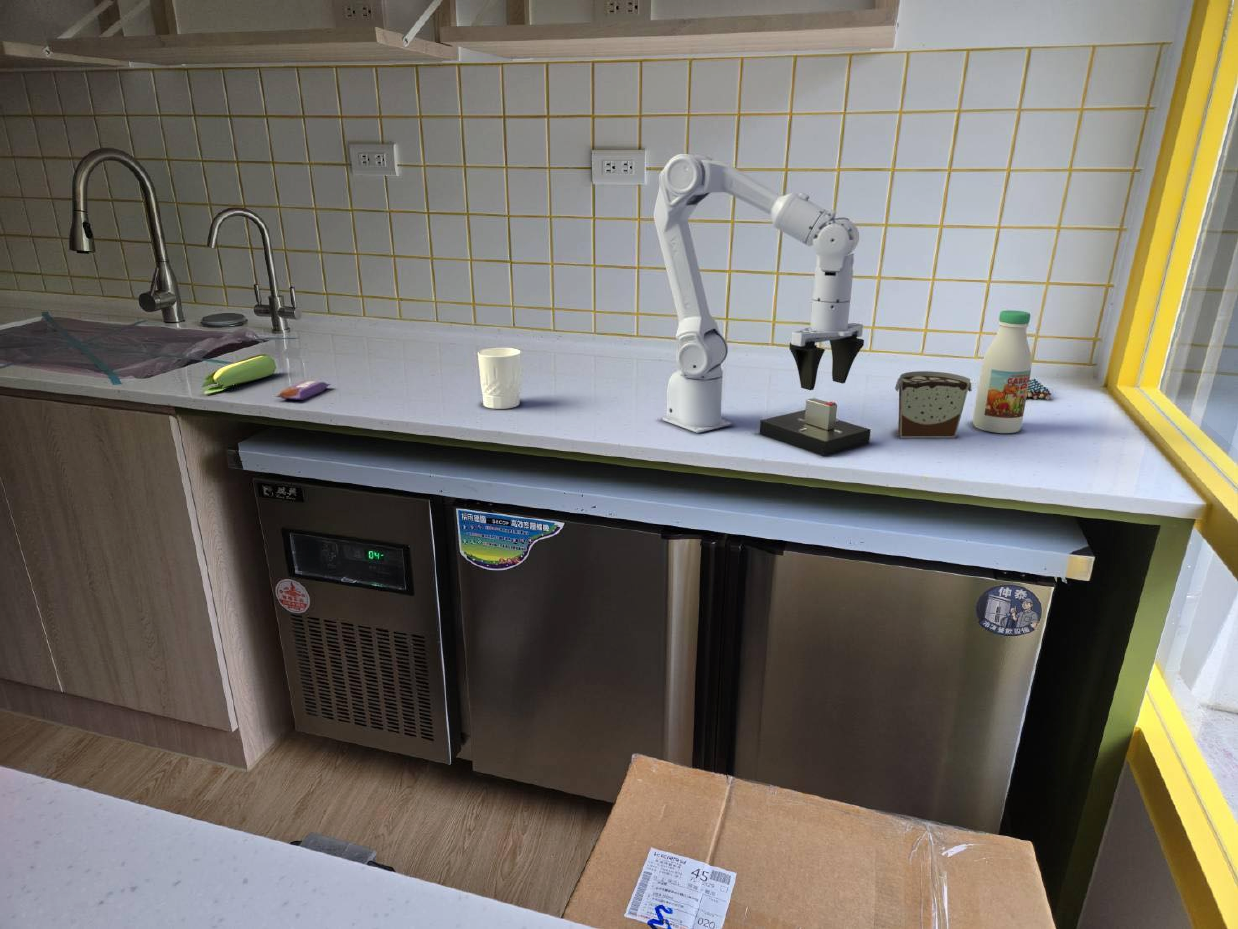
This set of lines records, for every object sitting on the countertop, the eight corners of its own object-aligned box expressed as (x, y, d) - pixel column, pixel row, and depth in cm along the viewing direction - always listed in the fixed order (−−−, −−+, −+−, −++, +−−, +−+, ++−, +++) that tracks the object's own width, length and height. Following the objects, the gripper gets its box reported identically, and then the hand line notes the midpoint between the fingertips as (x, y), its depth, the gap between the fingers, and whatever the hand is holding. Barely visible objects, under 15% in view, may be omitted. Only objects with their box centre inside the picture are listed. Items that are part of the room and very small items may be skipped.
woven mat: (1052, 400, 159) (1054, 390, 158) (994, 397, 161) (996, 387, 160) (1035, 387, 169) (1037, 377, 168) (981, 385, 170) (982, 375, 170)
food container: (949, 426, 142) (957, 370, 139) (964, 437, 136) (973, 379, 133) (879, 427, 142) (885, 370, 139) (891, 437, 136) (898, 379, 133)
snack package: (308, 377, 164) (331, 379, 163) (309, 386, 165) (332, 388, 164) (274, 391, 154) (297, 393, 153) (275, 401, 154) (299, 403, 153)
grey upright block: (804, 422, 135) (806, 398, 134) (811, 421, 136) (813, 396, 135) (827, 430, 131) (830, 404, 130) (835, 428, 132) (837, 403, 131)
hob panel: (759, 434, 137) (760, 419, 137) (803, 423, 144) (805, 408, 143) (824, 456, 127) (825, 440, 126) (869, 443, 133) (871, 428, 132)
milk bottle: (964, 427, 142) (982, 311, 135) (983, 418, 147) (1001, 306, 140) (1009, 437, 137) (1031, 317, 130) (1027, 427, 142) (1048, 312, 135)
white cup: (531, 402, 155) (529, 350, 152) (505, 412, 149) (503, 358, 145) (498, 397, 159) (495, 346, 155) (471, 406, 152) (468, 353, 149)
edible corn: (284, 374, 175) (281, 353, 174) (215, 397, 157) (211, 373, 156) (264, 372, 177) (261, 351, 175) (193, 394, 159) (189, 371, 157)
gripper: (820, 307, 120) (812, 397, 124) (882, 299, 128) (872, 384, 132) (784, 301, 125) (777, 387, 130) (845, 293, 133) (837, 375, 138)
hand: (823, 385), depth 131 cm, fingers open, 7 cm apart
